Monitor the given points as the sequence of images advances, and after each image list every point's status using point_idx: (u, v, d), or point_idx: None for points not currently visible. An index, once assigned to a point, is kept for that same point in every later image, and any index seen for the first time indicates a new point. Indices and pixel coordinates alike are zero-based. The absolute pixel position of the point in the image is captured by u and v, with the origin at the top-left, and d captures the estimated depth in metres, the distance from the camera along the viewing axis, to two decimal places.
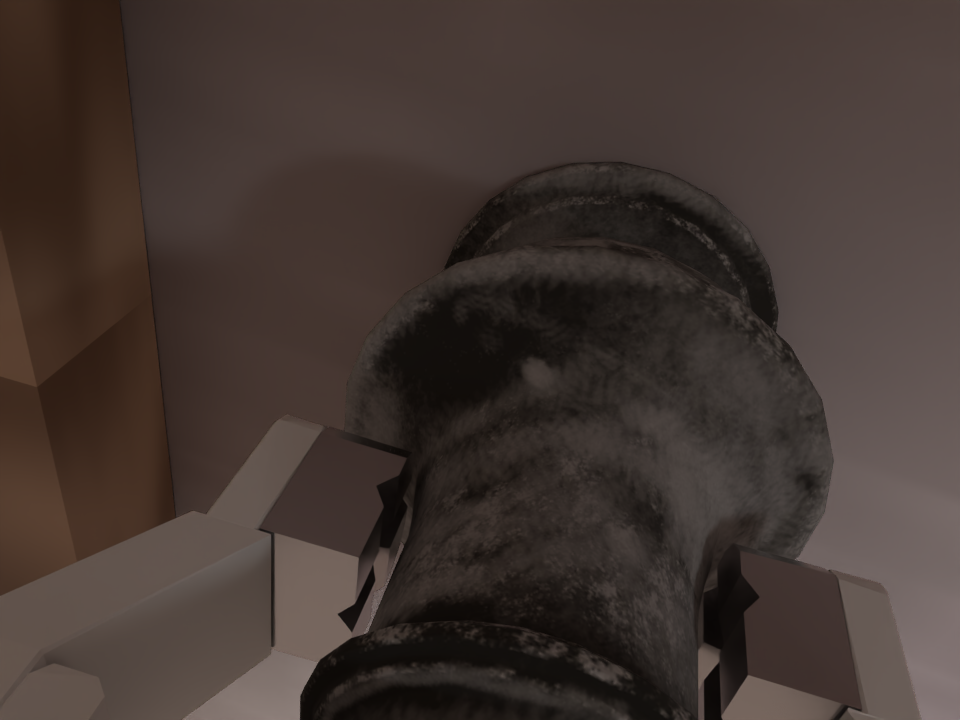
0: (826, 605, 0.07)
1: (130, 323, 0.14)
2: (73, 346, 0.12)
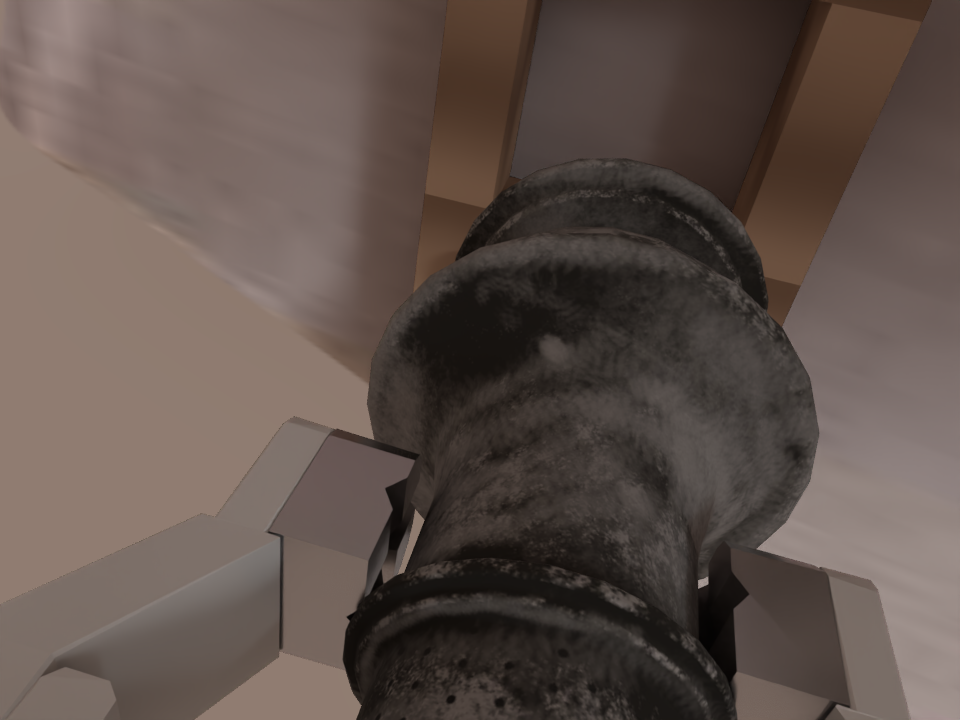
0: (816, 602, 0.07)
1: None
2: None
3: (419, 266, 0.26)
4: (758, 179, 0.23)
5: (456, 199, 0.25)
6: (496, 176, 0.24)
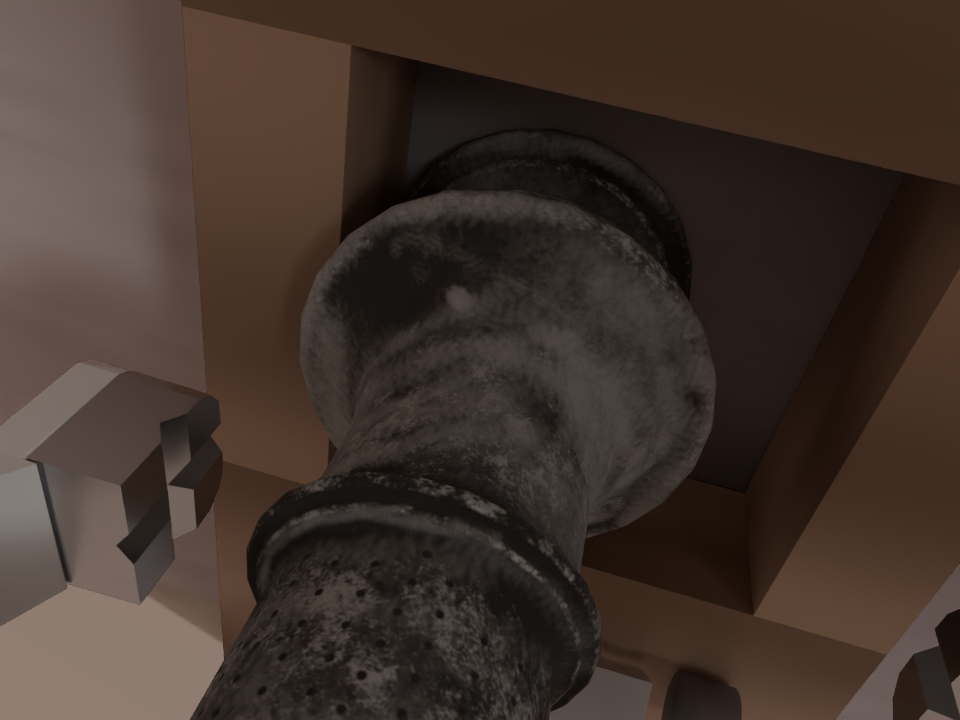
0: None
1: None
2: None
3: (222, 555, 0.15)
4: (812, 474, 0.12)
5: (267, 467, 0.14)
6: (329, 442, 0.13)
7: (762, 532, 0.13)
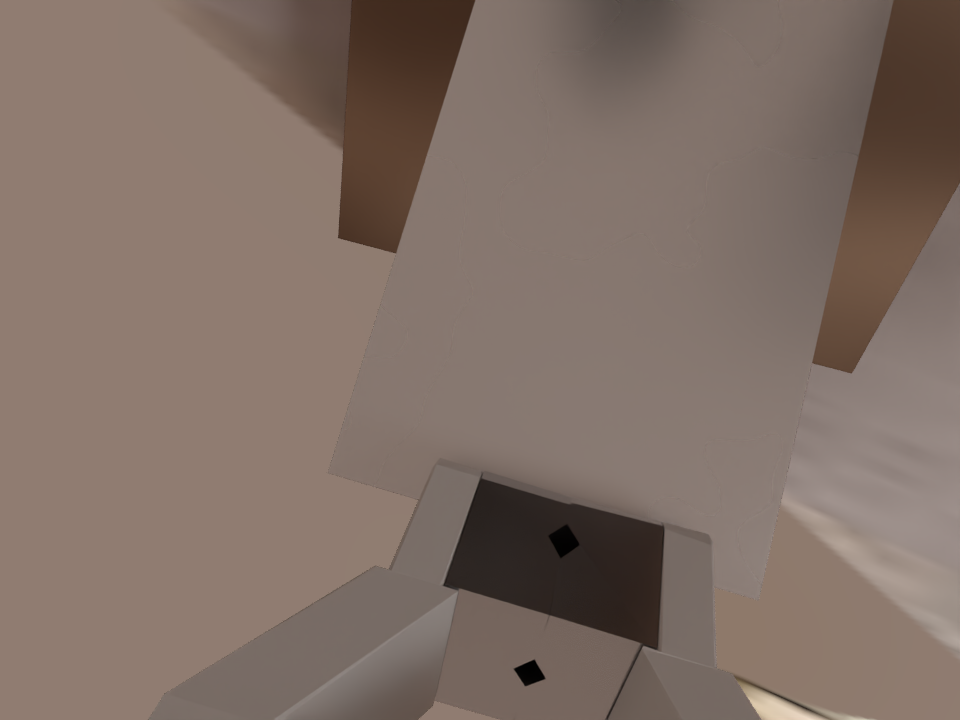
0: (646, 553, 0.07)
1: None
2: None
3: None
4: None
5: None
6: None
7: None
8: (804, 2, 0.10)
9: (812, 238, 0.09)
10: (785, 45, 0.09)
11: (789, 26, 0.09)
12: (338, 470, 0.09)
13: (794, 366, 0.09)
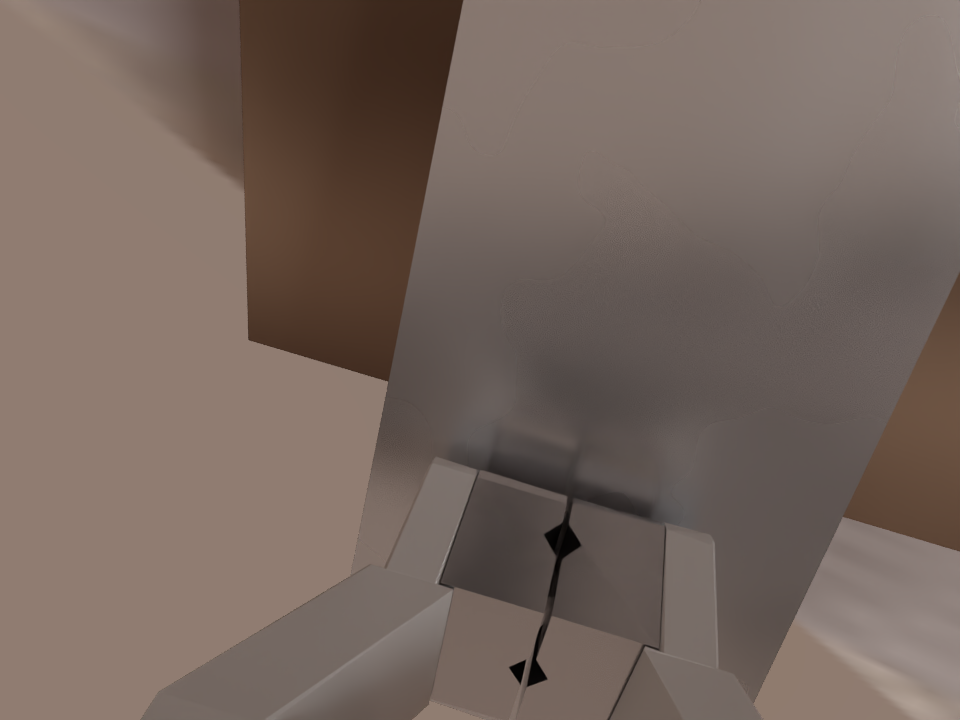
0: (648, 553, 0.07)
1: None
2: None
3: None
4: None
5: None
6: None
7: None
8: (856, 214, 0.07)
9: (812, 509, 0.08)
10: (819, 277, 0.07)
11: (828, 253, 0.07)
12: None
13: (770, 628, 0.09)
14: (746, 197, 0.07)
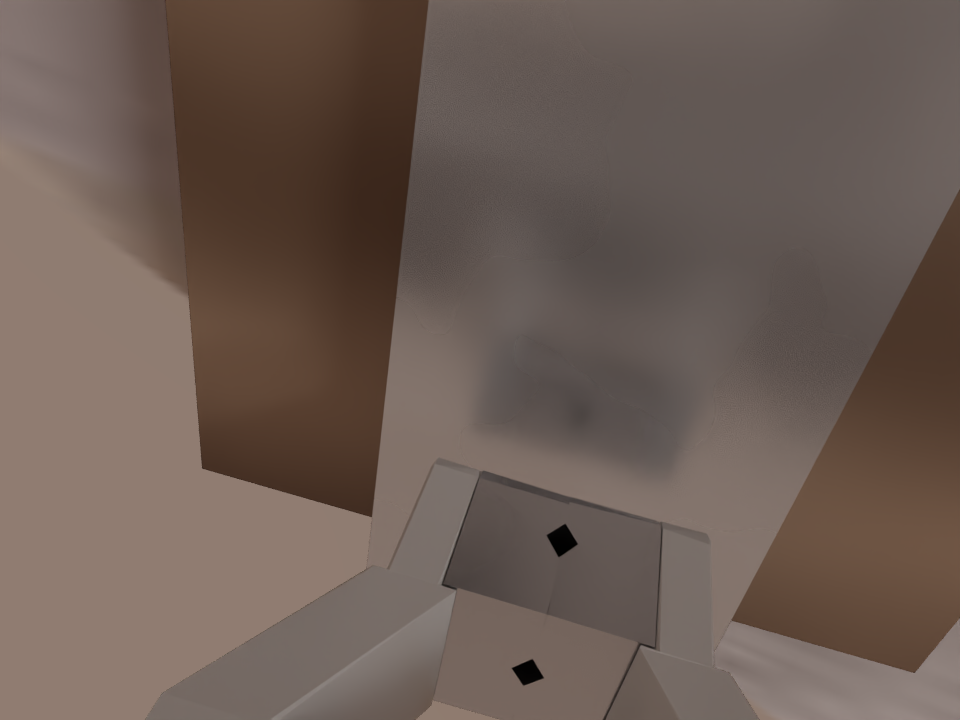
0: (644, 552, 0.07)
1: None
2: None
3: None
4: None
5: None
6: None
7: None
8: (744, 387, 0.08)
9: (721, 587, 0.10)
10: (716, 431, 0.09)
11: (723, 414, 0.09)
12: None
13: None
14: (652, 372, 0.08)
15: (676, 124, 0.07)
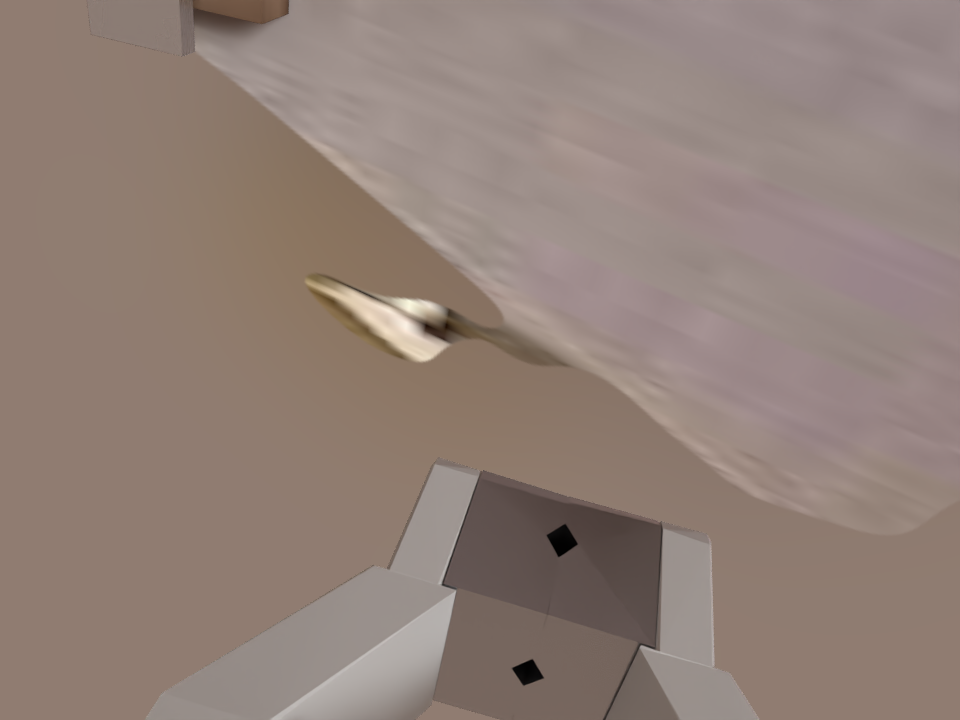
0: (644, 552, 0.07)
1: None
2: None
3: None
4: None
5: None
6: None
7: None
8: None
9: None
10: None
11: None
12: (92, 33, 0.39)
13: None
14: None
15: None
